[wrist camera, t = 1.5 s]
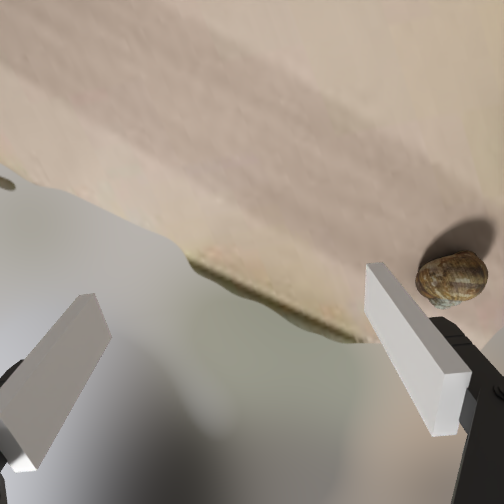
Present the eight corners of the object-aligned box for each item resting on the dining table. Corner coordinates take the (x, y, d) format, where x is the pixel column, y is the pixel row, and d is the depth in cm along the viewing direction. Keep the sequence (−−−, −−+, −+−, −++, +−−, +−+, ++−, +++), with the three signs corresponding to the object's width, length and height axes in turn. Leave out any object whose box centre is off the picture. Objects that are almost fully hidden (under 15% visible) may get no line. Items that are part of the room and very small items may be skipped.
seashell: (403, 291, 58) (425, 318, 50) (416, 244, 54) (442, 266, 46) (464, 292, 58) (495, 320, 51) (482, 245, 54) (518, 268, 47)
